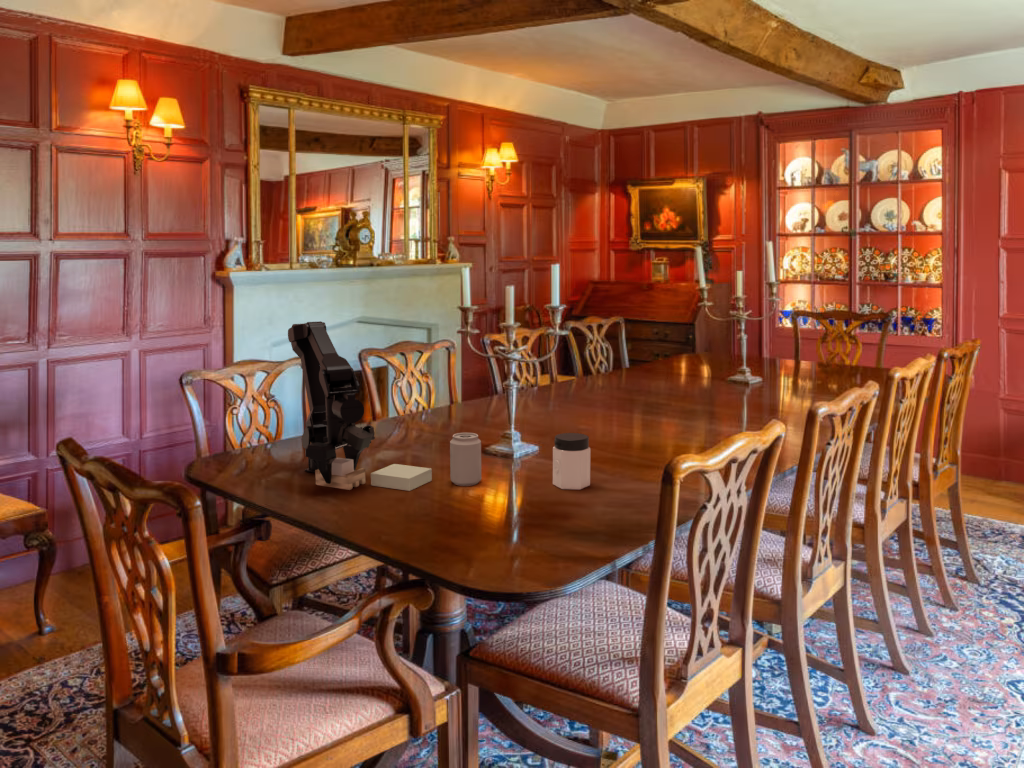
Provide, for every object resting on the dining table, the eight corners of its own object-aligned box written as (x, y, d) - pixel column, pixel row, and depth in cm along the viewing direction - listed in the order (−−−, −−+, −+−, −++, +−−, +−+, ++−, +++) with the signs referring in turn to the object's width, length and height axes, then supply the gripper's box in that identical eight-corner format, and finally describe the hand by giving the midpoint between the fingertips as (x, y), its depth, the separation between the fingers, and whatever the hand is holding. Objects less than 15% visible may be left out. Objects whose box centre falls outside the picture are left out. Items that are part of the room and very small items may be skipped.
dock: (371, 485, 205) (370, 473, 204) (394, 475, 214) (394, 463, 213) (409, 490, 200) (409, 478, 200) (431, 480, 209) (431, 468, 209)
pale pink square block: (326, 473, 205) (326, 461, 204) (338, 469, 209) (338, 457, 209) (342, 476, 203) (341, 463, 202) (353, 471, 207) (353, 459, 207)
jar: (547, 482, 207) (547, 434, 205) (577, 478, 210) (577, 431, 208) (565, 492, 199) (565, 442, 197) (595, 487, 202) (595, 438, 200)
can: (481, 478, 211) (480, 431, 209) (481, 486, 204) (480, 437, 202) (451, 478, 211) (450, 431, 209) (450, 487, 203) (449, 438, 201)
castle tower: (315, 485, 206) (315, 470, 205) (332, 479, 211) (331, 464, 211) (349, 490, 201) (348, 475, 201) (365, 483, 207) (365, 468, 207)
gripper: (341, 426, 192) (343, 492, 194) (388, 411, 208) (390, 473, 211) (302, 421, 197) (305, 487, 199) (351, 408, 213) (353, 468, 216)
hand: (340, 478), depth 206 cm, fingers open, 9 cm apart
